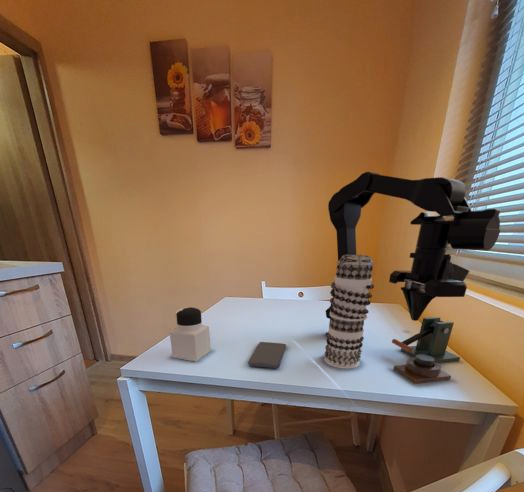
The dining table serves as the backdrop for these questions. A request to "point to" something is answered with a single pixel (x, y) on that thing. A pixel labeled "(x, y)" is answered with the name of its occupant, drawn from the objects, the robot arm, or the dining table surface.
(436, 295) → the robot arm
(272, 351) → the smartphone
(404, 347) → the lever
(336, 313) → the decorative candle
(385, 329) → the dining table surface
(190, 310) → the medicine bottle
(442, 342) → the bracket
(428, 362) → the button
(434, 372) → the button block
